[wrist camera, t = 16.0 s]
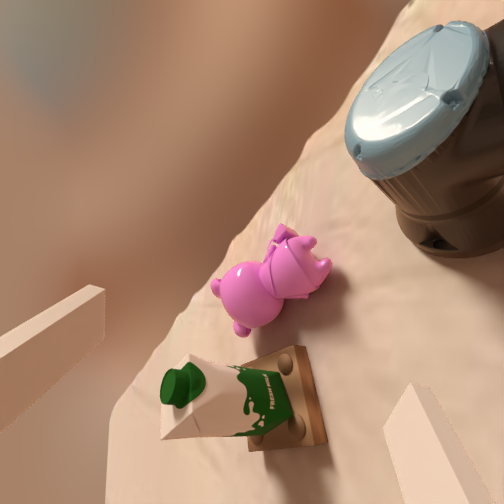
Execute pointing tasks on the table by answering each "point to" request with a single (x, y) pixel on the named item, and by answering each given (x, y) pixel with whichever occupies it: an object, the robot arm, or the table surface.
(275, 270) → the toy character
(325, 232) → the table surface
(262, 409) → the soya milk
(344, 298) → the table surface
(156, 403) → the table surface
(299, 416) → the base brick
